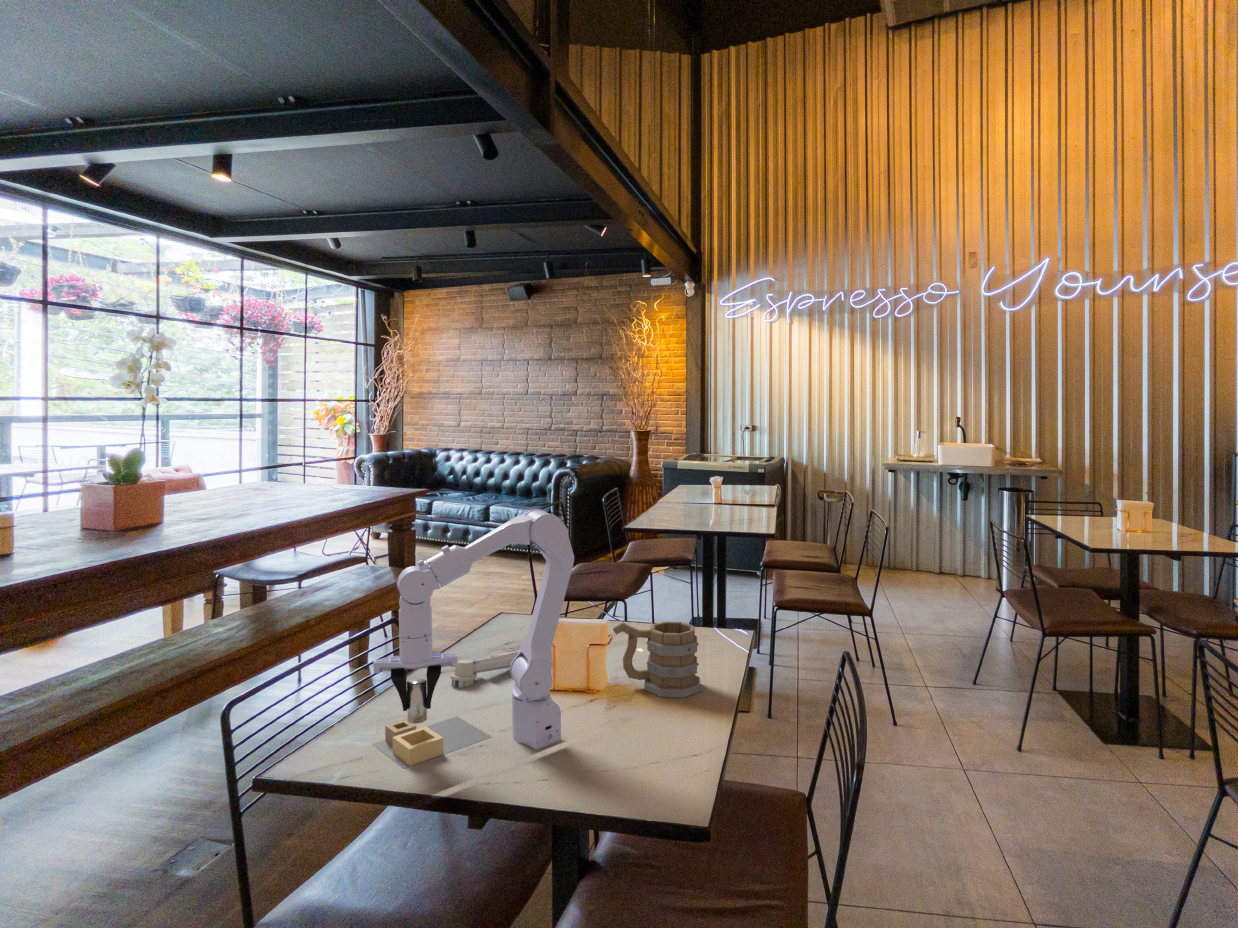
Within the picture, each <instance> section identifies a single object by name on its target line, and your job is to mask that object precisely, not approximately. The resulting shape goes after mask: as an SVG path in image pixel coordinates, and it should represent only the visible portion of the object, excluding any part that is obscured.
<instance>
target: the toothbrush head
mask: <svg viewBox="0 0 1238 928" xmlns="http://www.w3.org/2000/svg"><path fill="white" fill-rule="evenodd" d="M519 650H520V648H519V649H516V650H515V649H514V650H512V651H506V652H502V653H498V654H494V655H490V656H489V655H488V656H485V657H482V658H477V659H473V660H470V659H460V660H459V659H458V667H454V672H452V673H450V678H449V679H451V684H450V685H451V687H453V688H465V687H469V686H472V685H473V684H474V683H475V682H476V681H475V680H476V679H477V677H478V673H485V672H492V671H496V670H502V669H508V668H509V669H510V665H511V663H512V661H513V659H514V658H515V657H516V656H517V654H518V652H519Z"/></svg>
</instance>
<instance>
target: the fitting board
mask: <svg viewBox="0 0 1238 928" xmlns="http://www.w3.org/2000/svg"><path fill="white" fill-rule="evenodd" d="M384 728H385V729H384V731H385V732H384V736H385V739H383V740H380V741H377V742H374V743H371V745H372V746H373V747H375V748H376V749H378V751H380V752H381V753H382V754H384V755H385V756H386V757H388V758H389V759H390V760H391V761H393V762H394V763H395V764H396V765H398V766H399V767H401V768H402V769H403V770H404V769H408V768H410V767H414V766H416V765H419V764H422V763H424V762H428V761H430V760H432V759H435V758H437V757H442V756H444V755H446V754H449V753H451V752H454V751H458V750H461V749H462V748H463V749H464V748H467V747H469V746H471V745H474V744H477V743H479V742H483V741H485V740H488V739H490V738H492V736H491V735H490V734H488V733H486V732H484V731H483V730H481V729H479V728H477V726H474V725H473V724H471V723H469V722H468V721H466V720H464V719H462V718H461V717H459V716H454V717H450V718H448V719H444V720H441V721H439V722H435V723H432V724H429V725H426V726H422V727H419V728H417V725H416V724H412V723H409V722H408V718H407V719H406V718H404V719H402V720H399V721H396V722H392V723H390V724H386V725H385V726H384Z"/></svg>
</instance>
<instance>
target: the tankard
mask: <svg viewBox="0 0 1238 928" xmlns="http://www.w3.org/2000/svg"><path fill="white" fill-rule="evenodd" d="M695 627H696V626H694V625H692V624H689V623H687V622H683V621H682V622H681V621H661V622H657V623H652V624H651V625H650V629H639V628H636V627H633V626H631V625H629V624H627V623H625V622H623V621H622V622H621V623H619V624H617V625H615V626H613V628H612V630H613V632H614V634H615V635H619V634H620V633H622V632H623V633H625V634H626V635H627V636H628V637H627V638H628V639H627V646H626V649H625V651H624V653H623V654H624V655H623V658H622V668H623V670H624V672H625V673H626V675H627V677H628V678H629V679H633V680H638V681H643V680H644V686H643V687H644V691H646V692H648V693H650V694H653V695H655V696H657V697H660V698H677V699H678V698H679V699H684V698H686V697H689V696H693V695H695V694H698V693H701V679H700V676H698V675H697V674H698V667H699V663H698V656H696V654H695V653H698V646H699V642H698V636H697V635H695V634H696V633H695V632H696V630H695ZM638 638H640V639H641V638H642V639H647V641H646V645H647V646H646V647H647V649H646V650H647V651H648V652H649V655H648V658H647V661H646V665H647V668H646V669H641V670H639V669H635V668H634V665H633V658H634V656H635V653H636V650H637V645H638Z"/></svg>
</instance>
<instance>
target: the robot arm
mask: <svg viewBox="0 0 1238 928" xmlns="http://www.w3.org/2000/svg"><path fill="white" fill-rule="evenodd" d="M531 543H533V545H535V546H536V547H537V549H538V550H539V552H540V554H541V555H542V557H543V558H544V559H545V565H544V568H543V573H542V576H541V580H540V585H539V588H538V592H537V597H536V598H535V599H536V600H535V603H534V607H533V610H532V615H531V619H530V623H529V626H528V630H527V635H526V637H525V640H524V641H523V642H522V643H521V644H520V646H519V649H520V650H519V649H518V650H519V652H518V654H517V656H516V657H515V658H514V659H513V661H512V663H511V665H510V668H509V674H510V676H511V678H512V680H513V681H514V682H515V684H514V687H513V689H512V690H511V709H512V711H511V713H512V714H511V715H512V716H511V717H512V718H511V719H512V720H511V721H512V722H511V723H512V724H511V725H512V728H511V729H512V730H511V731H512V733H511V734H512V739H513V740H514V741H515V742H517V743H520V744H524V745H526V746H529V747H530V748H532V749H534V750H538V749H541V748H544V747H546V746H549V745H552V744H554V743H556V742H559V741H561V740H562V721H561V720H562V718H561V717H562V713H561V709H560V706H559V705H558V703H557V702H555V701H554V700H553V698H552V696H551V693H550V691H551V689H552V687H553V681H554V680H553V675H552V667H553V662H554V661H553V660H554V659H553V652H552V650H553V649H552V647H553V643H554V640H555V635H556V632H557V629H558V628H557V627H558V624H559V620H560V617H561V614H562V613H561V612H562V608H563V605H564V603H565V602H564V601H565V597H566V593H567V589H568V586H569V581H570V578H571V574H572V570H573V566H574V563H575V555H574V552H573V551H574V550H573V548H572V544H571V540H570V537H569V529H568V528H567V526H566V525H565V523H564V522H563V521H562V520H561V518H560V517H558V516H557V515H555V514H552V513H548V512H547V511H545V510H544V509H542V508H533V509H530V510H527V512H525V513H524V514H523V513H521V514H519V515H516V516H515V517H513V518H511V519H509V520H508V521H506V522H505V523H503V524H501V525H499V526H498V527H496V528H494V529H492V530H491V531H489V532H488V533H486V534H484V535H483V536H481V537H479V538H477V539H476V540H474V541H473V542H470V543H469V544H468V545H466V546H460V545H457V544H453V545H452V546H450V547H449V545H448V544H446V545H444V546H443V547H441V548H440V549H441V551H440V552H439V553H437V554H435V555H433V556H431V557H429V558H428V559H427V558H426V559H425V560H424V561H423V559H419V560H418V561H417V562H416V563H417V565H415V566H414V565H411V566H409V567H405V569H403V570H402V571H401V572H400V574H399V575H398V577H397V581H396V582H395V583H396V587H397V590H398V591H399V601H398V605H399V609H398V639H399V641H398V642H399V643H398V644H399V655H395V656H390V657H383V658H375V659H374V660H373V664H372V665H373V667H372V668H373V674H380V673H381V672H390V680H391V682H392V684H393V685H394V687H395V689H396V690H397V693H398V696H399V699H400V701H401V705H402V711H403V712H407V682H408V681H407V680H408V679H407V674H408V673H407V670H416V669H417V670H418V669H419V670H420V669H426V685H427V701H426V709H427V710H430V709H431V707H432V704H431V703H432V699H433V695H434V690H435V688H436V686H437V683H438V681H439V679H440V676H441V674H442V667H443V668H444V667H451V668H455V667H458V661H459V659H458V653H456V652H455V653H446V652H445V653H442V652H441V653H440V652H433V609H432V606H431V597H432V595H433V593H434V591H435V590H439V589H441V588H443V587H445V586H447V585H448V584H450V583H452V582H454V581H456V580H458V579H459V578H461V577H463V576H465V575H467V574H469V573H470V571H471V569H472V566H473V564H474V563H475V562H477V561H480V560H482V559H483V558H485V557H488V556H490V555H491V554H493V553H495V552H497V551H499V550H501V549H503V548H505V547H507V546H509V545H512V544H517V545H527V546H528V545H531Z"/></svg>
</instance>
